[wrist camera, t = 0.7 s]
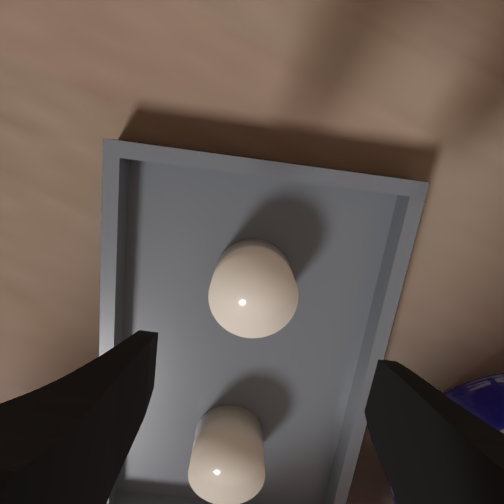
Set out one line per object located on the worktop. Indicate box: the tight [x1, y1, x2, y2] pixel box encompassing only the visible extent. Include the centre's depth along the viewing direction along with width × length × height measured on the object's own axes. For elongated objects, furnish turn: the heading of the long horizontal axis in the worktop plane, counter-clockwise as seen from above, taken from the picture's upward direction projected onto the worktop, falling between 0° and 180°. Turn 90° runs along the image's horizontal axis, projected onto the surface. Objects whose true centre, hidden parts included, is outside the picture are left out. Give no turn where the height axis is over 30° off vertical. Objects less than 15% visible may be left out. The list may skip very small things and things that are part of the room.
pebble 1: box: [208, 239, 298, 338], centre depth 19 cm, size 4×4×3 cm
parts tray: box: [99, 138, 429, 504], centre depth 22 cm, size 24×16×2 cm, turn 172°
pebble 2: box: [188, 405, 265, 504], centre depth 22 cm, size 4×4×3 cm
